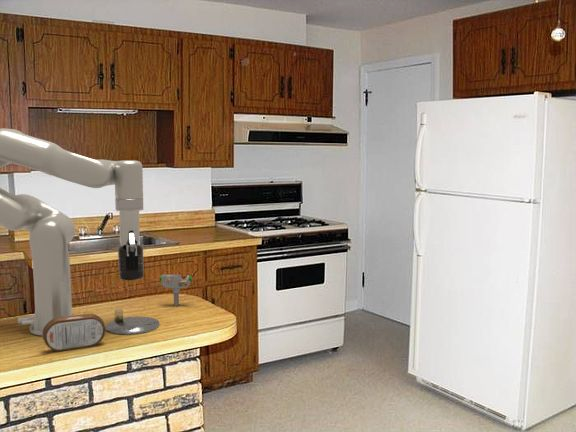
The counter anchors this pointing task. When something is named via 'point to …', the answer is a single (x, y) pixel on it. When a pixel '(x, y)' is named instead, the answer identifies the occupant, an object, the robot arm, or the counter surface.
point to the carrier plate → (130, 324)
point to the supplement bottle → (122, 264)
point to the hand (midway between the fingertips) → (131, 267)
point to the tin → (73, 332)
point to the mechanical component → (175, 284)
